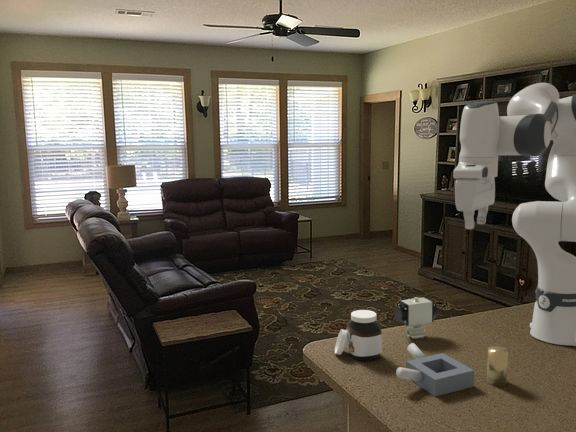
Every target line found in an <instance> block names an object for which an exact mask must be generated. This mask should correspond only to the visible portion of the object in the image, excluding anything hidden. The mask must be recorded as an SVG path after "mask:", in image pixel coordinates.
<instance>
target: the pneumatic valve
mask: <svg viewBox="0 0 576 432" xmlns="http://www.w3.org/2000/svg"><path fill="white" fill-rule="evenodd" d="M438 310H439V309H438V306H437V303H436V302H435V301H434V300H432V299H430V298H427V296H426V297H425V296H424V297H418V296H415V297H413V298H407V299H403V300H401V299H400V300H398V304H397V306H395V308H394V316H395V319H396V320H397V322H399V323H401V324H403V325H404V326H406V327H407V328H406V330H405V331H406V335H407V336H408V337H411V339H413V340H417V339H424V338H425V335H426V333H427V328H426V327H425V326H423V325H424V324H429V323H430V324H431V323H434V322H435V317H437V315H438V313H439V311H438Z"/></svg>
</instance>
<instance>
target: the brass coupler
mask: <svg viewBox="0 0 576 432" xmlns="http://www.w3.org/2000/svg"><path fill="white" fill-rule="evenodd" d="M486 363H487V368H486V373H487V375H486V381H487V383H488V384H489V385H491V386H494V387H506V386H507V385H508V374H509V373H508V371H509V370H508V368H509V367H508V366H509V365H508V364H509V350H508V348H505V347H502V346H497V345H493V346H489V347H487V362H486Z"/></svg>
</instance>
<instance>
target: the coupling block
mask: <svg viewBox="0 0 576 432" xmlns="http://www.w3.org/2000/svg"><path fill="white" fill-rule="evenodd" d="M407 351H408V352H409V353H410V354H411V355H412V356H413V358H414V359H409V360H406V361H405V366H406V367H400V366H399V367H397V368H396V370H395V371H396V372H395V373H396V377H397V378H398V379H402V380H409V381H412V382H413V383H415V384H416V385H418V386H419V387H420V388H421V389H423V390H425V391H426V392H428V394H430V395H432V396H434V397H439V396H443V395H446V394H450V393H454V392H458V391H459V392H460V391H463V390H465V389H467V390H468V389H469V388H473V387H474V385H475V383H474V382H475V369H472V368H471V367H469V366H467V365H466V364H464V363H462V362H460V361H458V360H456V359H455V358H453V357H451V356H449V355H448V354H446V353H444V352H442V353H437V354H433V355H432V354H431V355H425V354H424V353H423V351H422V350H421V349H420V348H419V347H418V346H417V345H416V344H415V343H414V342H411V343H410V344H409V345H408V346H407Z"/></svg>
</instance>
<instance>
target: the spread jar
mask: <svg viewBox="0 0 576 432" xmlns="http://www.w3.org/2000/svg"><path fill="white" fill-rule="evenodd" d="M377 315H378V314H377V313H376V312H375V311H373V310H369V309H358V310H354V311H351V313H350V320H349V321H348V322H347V325H346V329H342V328H341V329H340V330H339V332H338V336H337V338H336V341H335V346H334V354H335V355H338V356H341V355H342V354H343V351H344V348H345V345H346V347H347V350H348V352H349V353H348V354H349V355H350V356H351V357H352V358H353V359H355V360H359V361H372V360H374V359H377V358H378V357H379V356H380V355H381V354H382V351H383V333H382V328H381V326H380V324H379V322H378V321H377V319H378V317H377Z"/></svg>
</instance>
